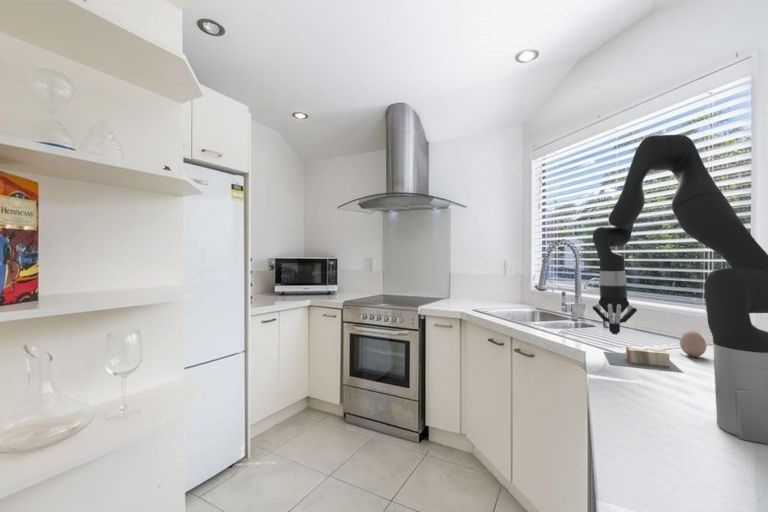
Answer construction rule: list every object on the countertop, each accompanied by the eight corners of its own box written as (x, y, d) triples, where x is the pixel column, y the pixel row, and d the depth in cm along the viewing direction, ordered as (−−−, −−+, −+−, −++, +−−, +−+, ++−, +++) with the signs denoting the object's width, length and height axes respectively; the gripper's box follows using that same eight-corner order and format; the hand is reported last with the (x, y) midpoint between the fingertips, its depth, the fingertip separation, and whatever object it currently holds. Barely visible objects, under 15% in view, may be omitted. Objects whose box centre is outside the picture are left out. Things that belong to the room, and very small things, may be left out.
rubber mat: (683, 375, 94) (683, 372, 94) (610, 367, 102) (609, 364, 102) (667, 359, 108) (666, 357, 108) (603, 353, 116) (603, 351, 116)
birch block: (629, 362, 104) (669, 366, 99) (629, 350, 104) (669, 353, 99) (626, 357, 109) (665, 361, 104) (626, 346, 109) (664, 349, 104)
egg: (712, 359, 106) (710, 332, 107) (688, 359, 108) (687, 332, 108) (697, 354, 113) (696, 328, 113) (675, 353, 114) (674, 328, 114)
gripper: (590, 284, 109) (592, 334, 109) (639, 285, 102) (641, 338, 102) (589, 282, 115) (591, 330, 115) (634, 283, 109) (636, 333, 109)
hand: (614, 333), depth 109 cm, fingers closed
